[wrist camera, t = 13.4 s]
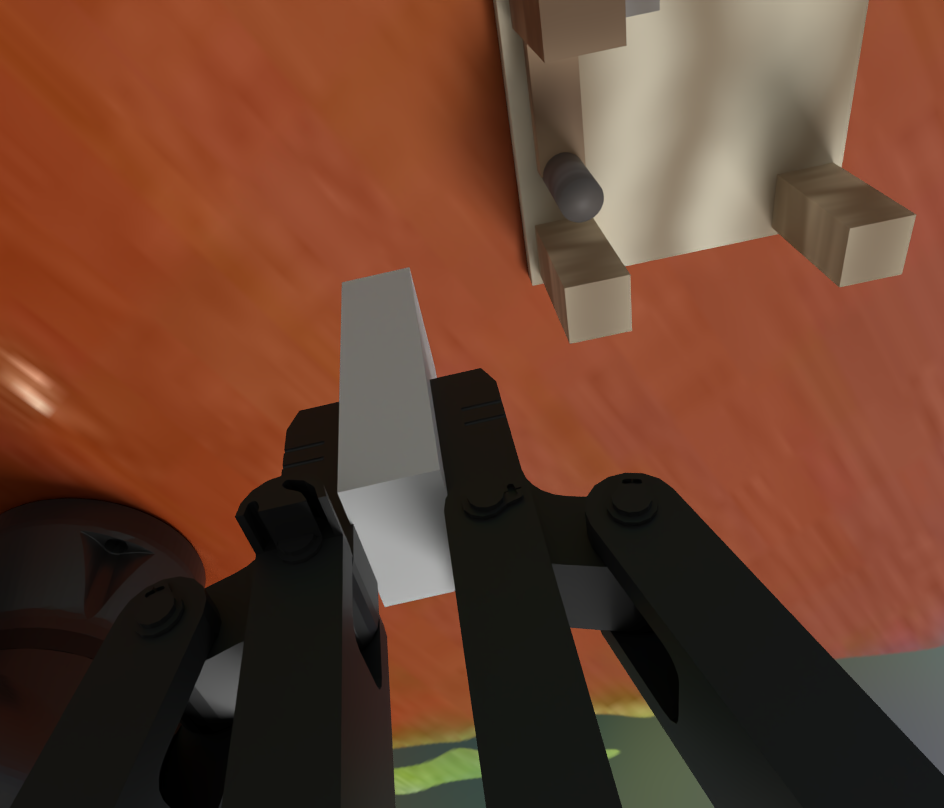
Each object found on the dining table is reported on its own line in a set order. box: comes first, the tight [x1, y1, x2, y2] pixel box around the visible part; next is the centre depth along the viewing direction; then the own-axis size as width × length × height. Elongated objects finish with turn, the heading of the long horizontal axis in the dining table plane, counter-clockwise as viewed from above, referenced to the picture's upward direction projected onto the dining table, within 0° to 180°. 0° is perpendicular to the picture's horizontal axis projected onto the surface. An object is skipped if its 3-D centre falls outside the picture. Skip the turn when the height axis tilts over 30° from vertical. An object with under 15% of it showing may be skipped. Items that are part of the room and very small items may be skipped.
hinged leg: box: [509, 0, 627, 223], centre depth 29 cm, size 10×3×7 cm, turn 10°
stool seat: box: [493, 0, 916, 344], centre depth 31 cm, size 17×16×8 cm
